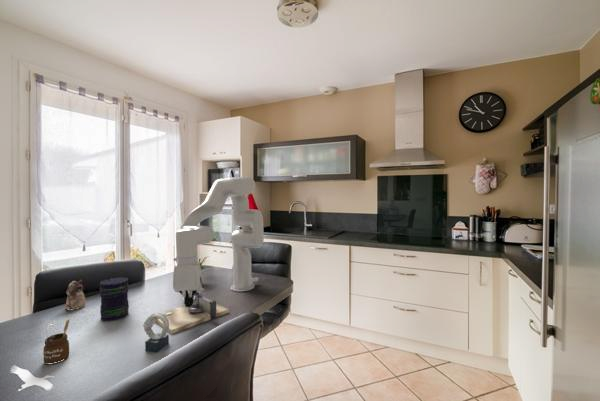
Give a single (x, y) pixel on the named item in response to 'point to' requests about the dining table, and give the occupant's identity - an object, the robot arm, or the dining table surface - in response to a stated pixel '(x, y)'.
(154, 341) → the white ring on base
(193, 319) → the cutting board
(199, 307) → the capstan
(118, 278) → the storage jar
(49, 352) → the brown rounded container
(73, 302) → the figurine
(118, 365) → the dining table surface
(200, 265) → the house plant
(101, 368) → the dining table surface
